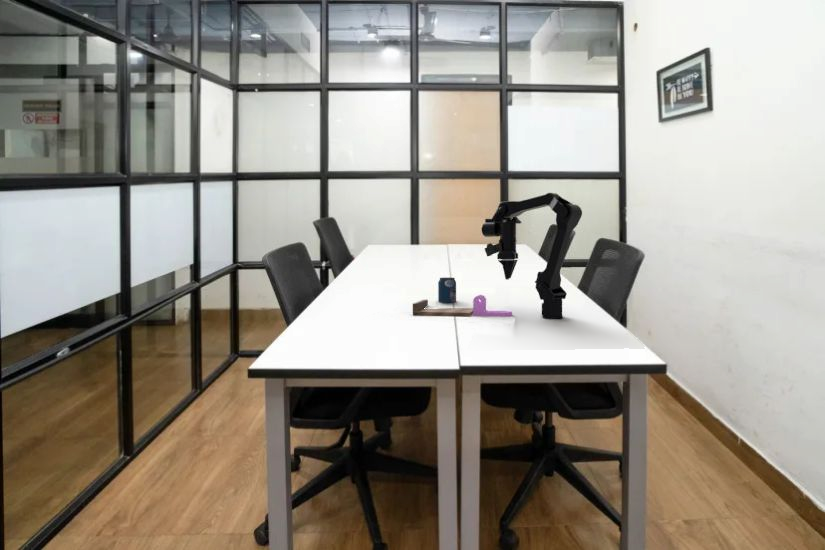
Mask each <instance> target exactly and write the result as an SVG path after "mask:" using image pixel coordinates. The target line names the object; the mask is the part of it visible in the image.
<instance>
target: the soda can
mask: <svg viewBox="0 0 825 550" xmlns="http://www.w3.org/2000/svg"><path fill="white" fill-rule="evenodd" d="M437 283H438V284H437V286H438V287H437V288H438V289H437V290H438V293H437V295H438V298H437V300H438V301H437V302H438V303H441V304H454V303H456V302H457V281H456V280H455V277H439V280H438V281H437Z"/></svg>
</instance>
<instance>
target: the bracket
mask: <svg viewBox="0 0 825 550" xmlns="http://www.w3.org/2000/svg"><path fill="white" fill-rule="evenodd" d="M472 303H473V304H472V305H473V306H472V308H473V314H472V315H473V316H474V317H475V316H478V317H479V316H481V317H512V316H513V311H510V310H487V298H486V296H485V295H483V294H479V295H476V296H475V297H474V298H473V301H472Z"/></svg>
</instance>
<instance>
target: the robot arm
mask: <svg viewBox="0 0 825 550" xmlns="http://www.w3.org/2000/svg"><path fill="white" fill-rule="evenodd" d="M545 207H549V208H550V209H551V210H552V211H553V212H554V213H555V214H556V217H555V223H556V232H555V234H554V239H553V242H552V245H551V249H550V252H549V256H548V260H547V262H546V263H547V264H546V266H545V268H544V270H543V271H538V272H537V276H536V280H535V281H534V283H535V290H536V291H537V293H538V297H539V299H540V300H543V302H542V303H541V316H542V318H547V319H549V318H551V319H552V318H553V319H555V318H556V319H563V300H565V299H566V297H567V292H566V290H565V289H563V287H562V286H561V283H562V277H561V276H562V275H561V268H562V265H563V262H564V259H565V255H566V251H567V250H568V249H567V248H568V246H569V241H570V238H571V235H572V232H573V231H574V229H576V228H577V226H578V225H579V222H580V221H581V218H582V215H583V210H582V208H581V207H580V206H579V205H578V204H573V203H572V202H570V201H569V200H566V199H565V198H563V197H561V196H560V195H559V194H558V193H555V192H554V193H553V192H547V193H545V194H542V195H538V196H534V197H530V198H527V199H523V200H517V201H516V200H515V201H514V200H513V201H512V200H511V201H501V202H499V204H498V206H497V209H496V211H495V212H494V214H493V216H492V217H491V218H485V220H484V222H483V224H482V227H481V234H482V235H483V237H485V238H489V237H490V238H491V237H492V238H495V237H500V238H499V240H498V243H496V244H493V243H492V242H490V243H488V244H486V247H485V248H484V252H485V253H486V257H491V256H493V255H494V254H497V257H496V259H497V260H498V262H499V263H500V264H501V266H502V269H503V272H504V273H503V274H504V278H505V280H510V279H511V278H512V276H513V273H514V270H515V267H516V266H517V263H518V260H519V253H518V252H517V224H522V221H521V220H520V219H519V218H518V217H519V216H521V215H523V214H524V213H525V212H529V211H534V210H537V209H541V208H545Z"/></svg>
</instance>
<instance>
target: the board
mask: <svg viewBox="0 0 825 550" xmlns="http://www.w3.org/2000/svg"><path fill="white" fill-rule="evenodd" d="M427 305H428V306H429V300H428V299H422V300H421V299H420V300H419V301H417V302H414V303H412V316H431V317H432V316H435V317H438V316H439V317H440V316H441V317H471V316H472V315H473V307H462V308H461V307H446V308H445V307H443V308H442V307H441V308H440V307H437V308H438V309H424V308H425V307H426V306H427ZM428 306H427V307H428ZM427 307H426V308H427Z"/></svg>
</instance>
